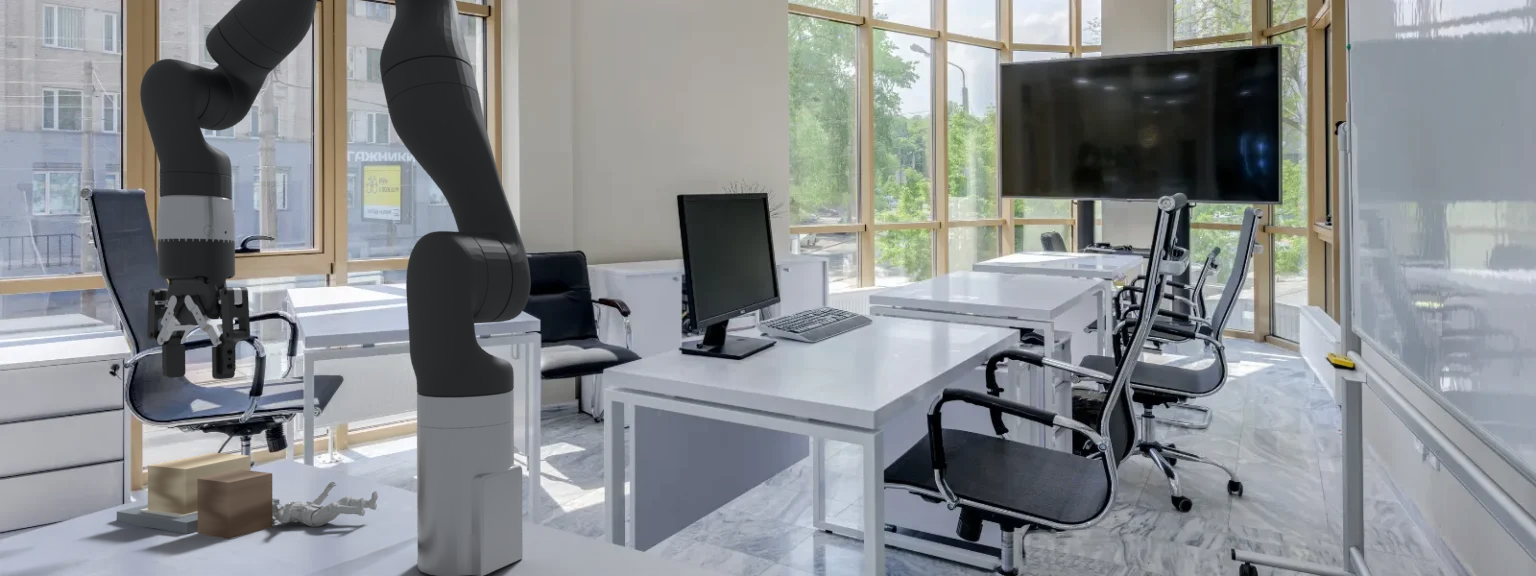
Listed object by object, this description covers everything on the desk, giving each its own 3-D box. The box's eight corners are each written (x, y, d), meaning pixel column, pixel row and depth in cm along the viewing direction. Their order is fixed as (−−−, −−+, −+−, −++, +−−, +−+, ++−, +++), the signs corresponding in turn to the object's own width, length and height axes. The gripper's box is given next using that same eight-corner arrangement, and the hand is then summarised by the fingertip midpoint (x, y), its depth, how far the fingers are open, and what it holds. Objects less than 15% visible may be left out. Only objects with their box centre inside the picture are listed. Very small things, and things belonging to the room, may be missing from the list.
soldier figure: (345, 507, 93) (243, 488, 94) (341, 551, 93) (239, 532, 95) (387, 486, 101) (291, 469, 102) (383, 527, 101) (288, 509, 103)
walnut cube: (272, 527, 97) (272, 473, 97) (229, 539, 92) (229, 482, 92) (241, 522, 99) (241, 469, 99) (197, 534, 94) (197, 478, 94)
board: (279, 509, 104) (279, 497, 104) (186, 533, 94) (186, 520, 94) (211, 500, 109) (211, 488, 109) (116, 522, 99) (116, 509, 99)
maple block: (250, 497, 104) (250, 455, 104) (185, 514, 97) (185, 469, 97) (214, 493, 106) (213, 452, 106) (147, 509, 99) (147, 465, 99)
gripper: (269, 237, 102) (271, 376, 102) (188, 241, 108) (189, 373, 108) (206, 233, 95) (208, 383, 95) (123, 238, 101) (124, 379, 101)
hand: (198, 377), depth 101 cm, fingers open, 8 cm apart
